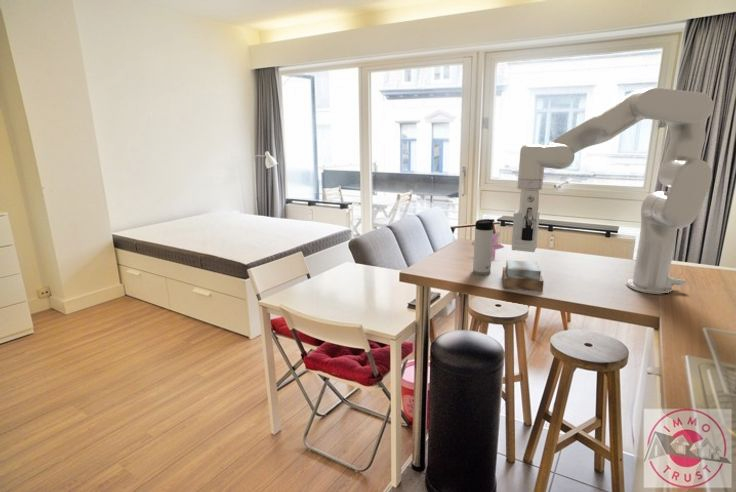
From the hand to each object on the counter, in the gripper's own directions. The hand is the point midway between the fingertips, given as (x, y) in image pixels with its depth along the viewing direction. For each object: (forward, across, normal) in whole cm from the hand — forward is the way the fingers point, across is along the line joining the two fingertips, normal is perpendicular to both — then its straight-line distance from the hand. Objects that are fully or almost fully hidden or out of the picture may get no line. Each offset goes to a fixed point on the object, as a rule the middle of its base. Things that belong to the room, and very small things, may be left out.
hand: (525, 236), depth 142 cm
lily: (+17, +31, +10) cm, 37 cm away
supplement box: (+4, 0, 0) cm, 4 cm away
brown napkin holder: (+17, 0, 0) cm, 17 cm away
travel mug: (+17, +9, +13) cm, 23 cm away
